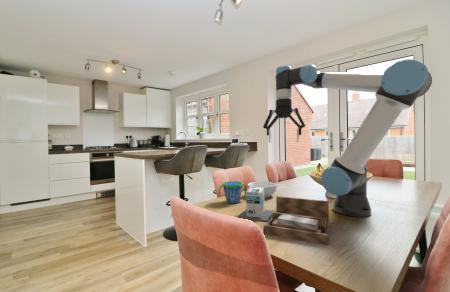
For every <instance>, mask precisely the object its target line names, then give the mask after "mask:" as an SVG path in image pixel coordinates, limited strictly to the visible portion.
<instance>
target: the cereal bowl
mask: <svg viewBox="0 0 450 292" xmlns="http://www.w3.org/2000/svg"><path fill="white" fill-rule="evenodd" d="M250 187H261V188H264V199H265V198H269V197H270V196H272V195H274V194H275V193H276V191H277V189H278V188H277V187H278V185H277V183H276V182H273V181H252V182H248V183H247V190H248V189H249V188H250Z"/></svg>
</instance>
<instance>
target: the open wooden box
mask: <svg viewBox="0 0 450 292" xmlns="http://www.w3.org/2000/svg"><path fill="white" fill-rule="evenodd" d="M329 201H330V200H323V199H321V200H320V199H310V198H309V199H308V198H300V197H299V198H298V197H290V196H289V197H287V196H280V195H279V196H278V195H277V196H276V201H275V203H276V205H275V206H276V209H275V212H272V216H271V218H270V219H269V221H268V222H266V224H263V235H265V236H267V235H268V236H273V237H280V238H286V239H289V240H290V239H292V240H298V241H302V242H303V241H305V242H309V243H315V244H321V245H326V244H327V245H329V243H330V242H329V241H330V240H329V239H330V238H329V236H330V234H329V221H330V220H329V219H330V218H329V211H330V210H329V209H330V207H329V204H330V202H329ZM282 214H285V215H291V216H297V217H303V218H309V219H315V220H318V230H321V233H317V232H310V231H303V230H296V229H290V228H283V227H276V226H272V223H273V221H274V220H275V219H276V218H278V217H279V216H280V215H282ZM327 245H326V246H327Z"/></svg>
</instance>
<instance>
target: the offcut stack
mask: <svg viewBox="0 0 450 292" xmlns="http://www.w3.org/2000/svg"><path fill="white" fill-rule="evenodd" d="M272 226H276V227H283V228H290V229H296V230H303V231H310V232H317V233H321V230H318V220H315V219H309V218H303V217H297V216H291V215H285V214H282V215H280V216H279V217H278V218H276V219H275V220H274V221H273V223H272Z"/></svg>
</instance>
